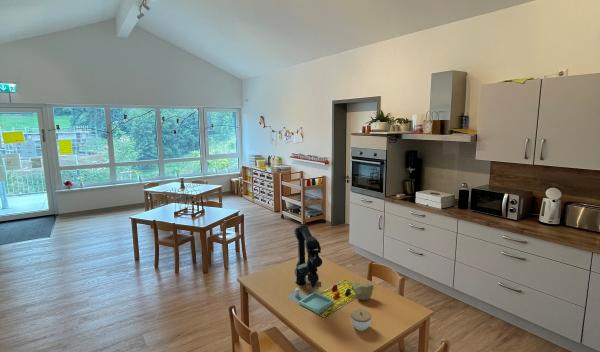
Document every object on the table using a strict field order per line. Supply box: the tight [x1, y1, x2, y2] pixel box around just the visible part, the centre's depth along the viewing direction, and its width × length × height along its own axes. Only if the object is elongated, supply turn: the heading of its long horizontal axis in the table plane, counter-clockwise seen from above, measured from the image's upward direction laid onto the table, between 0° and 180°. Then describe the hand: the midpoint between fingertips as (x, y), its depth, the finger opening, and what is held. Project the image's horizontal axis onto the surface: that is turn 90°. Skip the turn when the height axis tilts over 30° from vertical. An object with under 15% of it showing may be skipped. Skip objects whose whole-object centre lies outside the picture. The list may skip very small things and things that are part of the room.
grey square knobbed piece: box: [286, 287, 308, 304], centre depth 210 cm, size 10×10×6 cm
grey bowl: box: [350, 281, 374, 301], centre depth 208 cm, size 15×11×12 cm
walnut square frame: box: [305, 277, 322, 290], centre depth 201 cm, size 7×9×4 cm
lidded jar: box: [350, 308, 372, 332], centre depth 179 cm, size 11×11×9 cm
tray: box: [298, 291, 335, 315], centre depth 202 cm, size 15×15×2 cm
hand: (312, 284), depth 201 cm, fingers closed on walnut square frame, 7 cm apart
